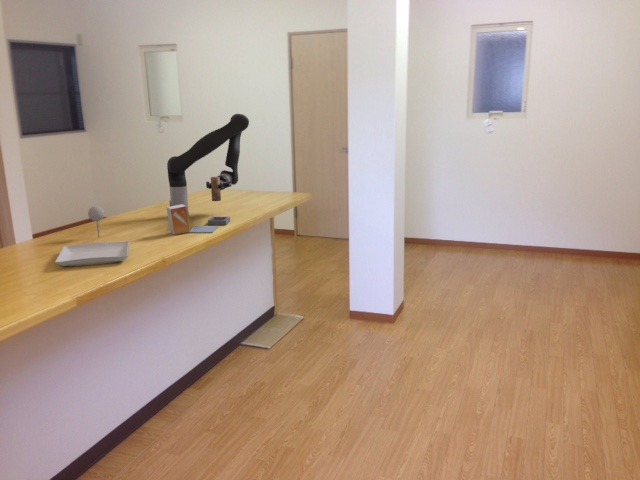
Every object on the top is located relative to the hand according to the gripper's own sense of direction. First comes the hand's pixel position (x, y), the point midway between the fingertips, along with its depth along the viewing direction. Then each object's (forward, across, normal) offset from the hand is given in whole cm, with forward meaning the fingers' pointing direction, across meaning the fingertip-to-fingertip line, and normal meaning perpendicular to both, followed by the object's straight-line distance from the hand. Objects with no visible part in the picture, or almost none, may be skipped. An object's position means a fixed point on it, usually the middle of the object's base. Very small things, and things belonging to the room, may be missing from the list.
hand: (214, 186), depth 286 cm
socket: (-4, 0, +20) cm, 20 cm away
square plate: (+61, -36, +20) cm, 74 cm away
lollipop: (+26, -51, +20) cm, 61 cm away
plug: (-3, 0, +8) cm, 8 cm away
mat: (+12, -4, +20) cm, 23 cm away
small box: (+18, -14, +20) cm, 30 cm away
